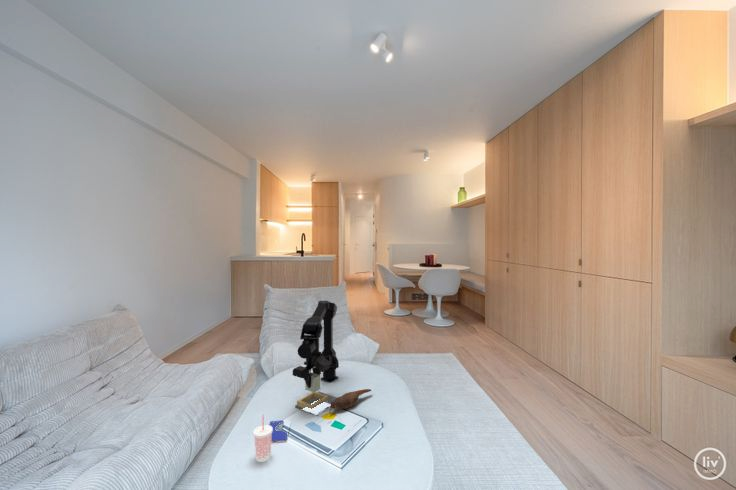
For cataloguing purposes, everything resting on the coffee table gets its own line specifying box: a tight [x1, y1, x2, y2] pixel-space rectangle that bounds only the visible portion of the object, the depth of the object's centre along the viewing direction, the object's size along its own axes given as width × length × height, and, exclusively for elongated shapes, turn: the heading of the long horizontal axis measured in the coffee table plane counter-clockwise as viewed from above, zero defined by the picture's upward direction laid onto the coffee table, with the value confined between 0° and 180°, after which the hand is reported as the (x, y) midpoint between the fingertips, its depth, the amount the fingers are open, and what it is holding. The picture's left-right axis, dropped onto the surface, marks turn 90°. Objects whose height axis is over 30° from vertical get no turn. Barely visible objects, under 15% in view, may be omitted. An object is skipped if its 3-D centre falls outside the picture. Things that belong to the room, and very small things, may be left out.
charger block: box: [304, 372, 321, 393], centre depth 138 cm, size 4×5×6 cm
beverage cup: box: [252, 414, 273, 463], centre depth 105 cm, size 6×6×14 cm
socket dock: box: [294, 391, 338, 410], centre depth 139 cm, size 15×12×3 cm
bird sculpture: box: [328, 388, 372, 413], centre depth 138 cm, size 7×25×5 cm, turn 137°
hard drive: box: [268, 420, 288, 444], centre depth 119 cm, size 2×8×12 cm
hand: (312, 385), depth 138 cm, fingers closed on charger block, 4 cm apart
